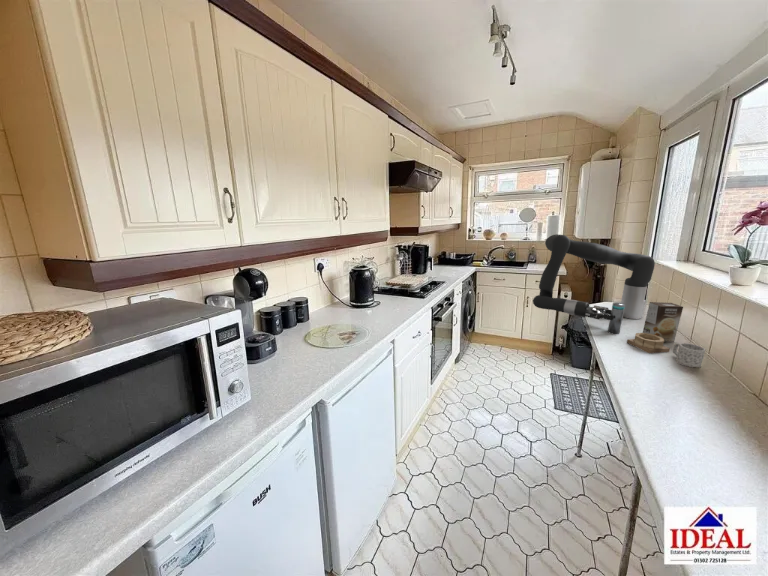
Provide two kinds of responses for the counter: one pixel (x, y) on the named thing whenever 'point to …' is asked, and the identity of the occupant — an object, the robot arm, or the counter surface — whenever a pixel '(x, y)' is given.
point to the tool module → (616, 318)
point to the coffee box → (663, 320)
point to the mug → (689, 354)
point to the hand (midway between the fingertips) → (615, 315)
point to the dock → (649, 350)
